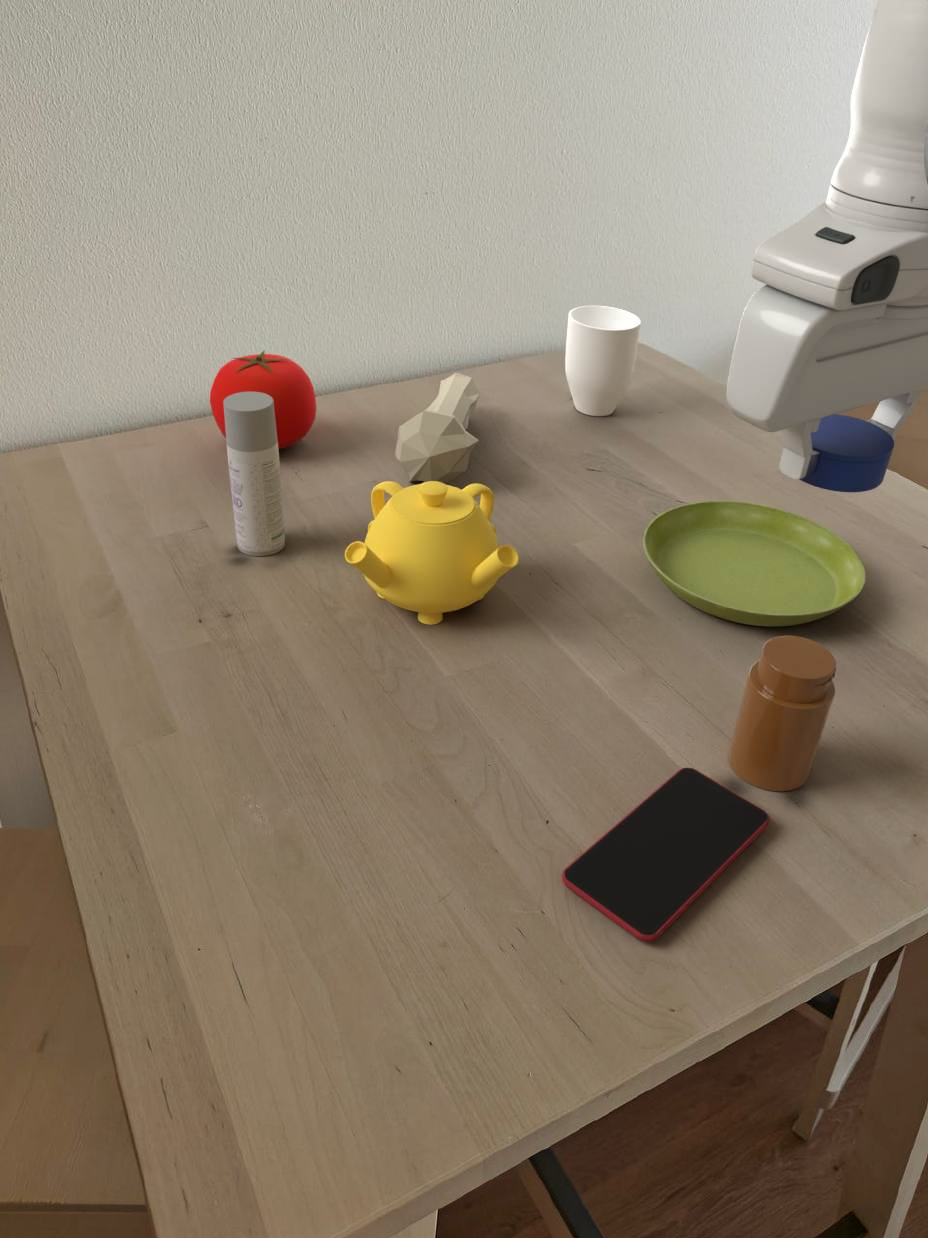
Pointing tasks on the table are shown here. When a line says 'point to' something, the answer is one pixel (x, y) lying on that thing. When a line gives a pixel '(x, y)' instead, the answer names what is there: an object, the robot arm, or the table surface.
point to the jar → (783, 713)
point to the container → (254, 472)
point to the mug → (600, 357)
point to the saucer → (752, 562)
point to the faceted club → (440, 433)
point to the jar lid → (850, 454)
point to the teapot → (431, 547)
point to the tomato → (269, 392)
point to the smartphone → (665, 853)
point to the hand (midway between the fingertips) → (835, 461)
